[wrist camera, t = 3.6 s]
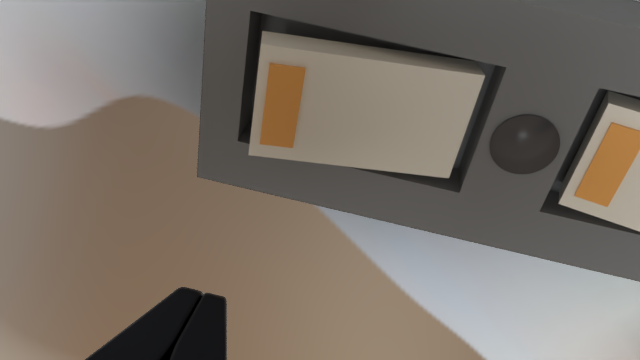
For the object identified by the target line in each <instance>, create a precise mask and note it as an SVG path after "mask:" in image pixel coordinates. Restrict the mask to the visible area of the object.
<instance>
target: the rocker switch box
mask: <svg viewBox="0 0 640 360" xmlns="http://www.w3.org/2000/svg"><path fill="white" fill-rule="evenodd" d="M262 31H268V32H275V33H282V34H289V35H296V36H303V37H309V38H316V39H323V40H330V41H337V42H344V43H351V44H358V45H365V46H372V47H379V48H386V49H393V50H400V51H407V52H414V53H421V54H428V55H435V56H442V57H449V58H456V59H463V60H470V61H476V62H477V63H478V65H479V67H480V68H481V70H482V71H483V73H484V75H485V78H484V81H483V84H482V86H481V89H480V92H479V95H478V98H477V101H476V103H475V106H474V109H473V112H472V115H471V117H470V120H469V123H468V126H467V129H466V132H465V134H464V137H463V140H462V143H461V146H460V148H459V151H458V154H457V157H456V160H455V162H454V165H453V168H452V171H451V174H450V177H449V178H441V177H433V176H424V175H416V174H407V173H398V172H390V171H381V170H372V169H364V168H355V167H346V166H338V165H329V164H321V163H312V162H303V161H295V160H286V159H277V158H269V157H260V156H251V155H248V154H249V145H250V136H251V127H252V118H253V109H254V101H255V92H256V83H257V74H258V65H259V56H260V47H261V38H262ZM607 91H611V92H614V93H618V94H621V95H624V96H628V97H631V98H635V99H638V100H640V2H638V1H633V0H207V1H206V20H205V38H204V57H203V75H202V94H201V112H200V131H199V151H198V168H197V177H200V178H204V179H208V180H212V181H216V182H221V183H225V184H229V185H233V186H237V187H242V188H246V189H250V190H254V191H259V192H263V193H267V194H271V195H276V196H280V197H284V198H289V199H292V200H297V201H301V202H306V203H309V204H314V205H318V206H322V207H326V208H331V209H335V210H339V211H343V212H347V213H352V214H356V215H360V216H364V217H369V218H373V219H377V220H381V221H386V222H390V223H394V224H398V225H402V226H407V227H411V228H415V229H419V230H424V231H428V232H432V233H436V234H441V235H445V236H449V237H453V238H457V239H462V240H466V241H470V242H474V243H479V244H483V245H487V246H491V247H495V248H500V249H504V250H508V251H512V252H517V253H521V254H525V255H529V256H534V257H538V258H542V259H546V260H550V261H555V262H559V263H563V264H567V265H572V266H576V267H580V268H584V269H589V270H593V271H597V272H601V273H605V274H610V275H614V276H618V277H622V278H627V279H631V280H635V281H639V282H640V232H639V231H637V230H634V229H631V228H628V227H625V226H622V225H619V224H616V223H613V222H610V221H607V220H604V219H601V218H599V217H596V216H593V215H590V214H587V213H584V212H581V211H578V210H575V209H572V208H569V207H566V206H563V205H561V204H558V202H559V188H560V186H561V184H562V182H563V180H564V178H565V176H566V174H567V172H568V170H569V168H570V166H571V164H572V162H573V160H574V158H575V156H576V154H577V152H578V150H579V148H580V146H581V144H582V142H583V140H584V138H585V135H586V133H587V131H588V129H589V127H590V125H591V123H592V121H593V119H594V117H595V115H596V113H597V111H598V109H599V107H600V105H601V103H602V101H603V99H604V97H605V95H606V93H607Z"/></svg>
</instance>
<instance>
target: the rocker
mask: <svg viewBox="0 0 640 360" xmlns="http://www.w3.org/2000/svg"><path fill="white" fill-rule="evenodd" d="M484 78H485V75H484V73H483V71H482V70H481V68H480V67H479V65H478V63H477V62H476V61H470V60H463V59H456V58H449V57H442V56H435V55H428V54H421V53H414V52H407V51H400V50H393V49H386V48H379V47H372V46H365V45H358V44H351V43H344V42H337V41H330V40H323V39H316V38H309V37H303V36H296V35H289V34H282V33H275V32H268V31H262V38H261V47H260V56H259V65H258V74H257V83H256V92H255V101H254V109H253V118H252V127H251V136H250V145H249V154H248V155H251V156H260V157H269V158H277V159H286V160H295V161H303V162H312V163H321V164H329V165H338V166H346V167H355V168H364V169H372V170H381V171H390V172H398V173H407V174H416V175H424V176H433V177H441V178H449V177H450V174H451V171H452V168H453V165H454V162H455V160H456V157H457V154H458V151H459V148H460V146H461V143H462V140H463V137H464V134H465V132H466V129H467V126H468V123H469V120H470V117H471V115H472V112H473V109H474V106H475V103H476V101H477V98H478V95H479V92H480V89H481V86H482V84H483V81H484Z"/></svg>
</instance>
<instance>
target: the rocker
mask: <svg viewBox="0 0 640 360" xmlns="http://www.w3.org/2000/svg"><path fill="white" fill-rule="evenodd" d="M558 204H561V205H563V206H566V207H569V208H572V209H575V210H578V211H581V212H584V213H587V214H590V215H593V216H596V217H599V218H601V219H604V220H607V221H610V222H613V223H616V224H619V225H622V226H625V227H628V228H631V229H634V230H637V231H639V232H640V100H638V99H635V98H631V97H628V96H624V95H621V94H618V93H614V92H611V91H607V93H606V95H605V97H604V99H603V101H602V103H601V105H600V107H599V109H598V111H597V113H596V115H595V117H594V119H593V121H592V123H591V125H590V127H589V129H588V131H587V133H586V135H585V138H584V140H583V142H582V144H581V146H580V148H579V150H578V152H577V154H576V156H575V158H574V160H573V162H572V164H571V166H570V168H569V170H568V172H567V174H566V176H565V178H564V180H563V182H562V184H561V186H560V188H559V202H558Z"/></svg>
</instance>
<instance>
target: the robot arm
mask: <svg viewBox="0 0 640 360" xmlns="http://www.w3.org/2000/svg"><path fill="white" fill-rule="evenodd" d="M226 305H227V304H226V298H225V297H223V296H219V295H214V294H211V293H205V294H203V293H202V292H201V291H198V290H194V289H190V288H186V287H181V288H178V289H177V290H175V291H174V292H173V293H172V294H170V295H169V296H168V297H166V298H165V299H164V300H162V301H161V302H160V303H158V304H157V305H156V306H155V307H153V308H152V309H151V310H149V311H148V312H147V313H145V314H144V315H143V316H141V317H140V318H139V319H138V320H136V321H135V322H134V323H132V324H131V325H130V326H128V327H127V328H126V329H124V330H123V331H122V332H121V333H119V334H118V335H117V336H115V337H114V338H113V339H112V340H110V341H109V342H107V343H106V344H105V345H103V346H102V347H101V348H100V349H98V350H97V351H96V352H94V353H93V354H92V355H90V356H89V357H88V358H86V359H85V360H227V342H226V341H227V334H226V333H227V329H226V327H227V324H226V323H227V322H226V321H227V316H226V315H227V314H226V313H227V311H226V309H227V308H226V307H227V306H226Z"/></svg>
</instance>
